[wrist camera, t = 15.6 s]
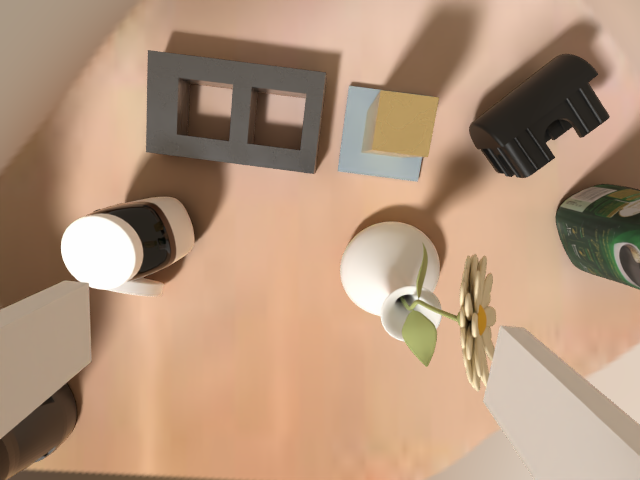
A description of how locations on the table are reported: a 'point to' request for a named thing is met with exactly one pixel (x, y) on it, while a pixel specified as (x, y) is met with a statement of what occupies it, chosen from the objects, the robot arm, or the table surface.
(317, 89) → the steel socket block
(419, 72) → the table surface
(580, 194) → the coffee jar
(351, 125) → the slate pad
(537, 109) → the end cap
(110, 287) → the spread jar
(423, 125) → the brass peg
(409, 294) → the flower in vase
